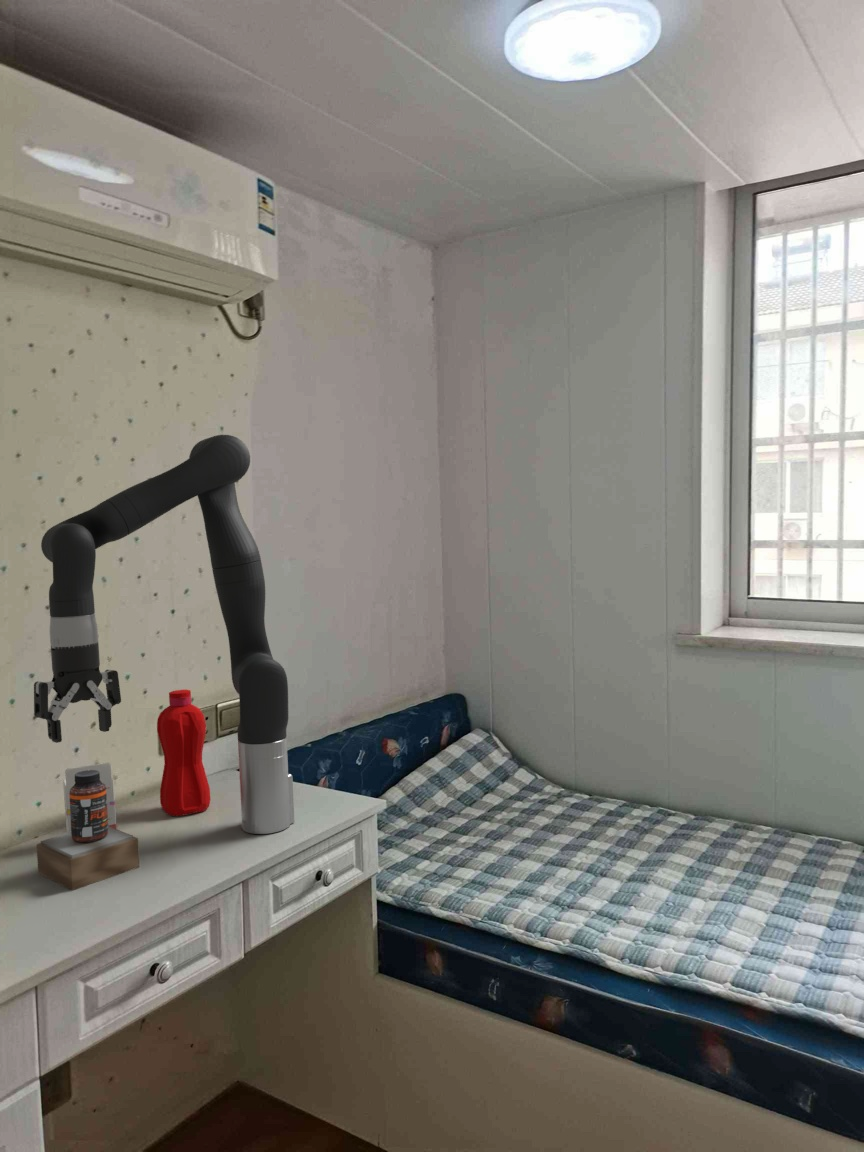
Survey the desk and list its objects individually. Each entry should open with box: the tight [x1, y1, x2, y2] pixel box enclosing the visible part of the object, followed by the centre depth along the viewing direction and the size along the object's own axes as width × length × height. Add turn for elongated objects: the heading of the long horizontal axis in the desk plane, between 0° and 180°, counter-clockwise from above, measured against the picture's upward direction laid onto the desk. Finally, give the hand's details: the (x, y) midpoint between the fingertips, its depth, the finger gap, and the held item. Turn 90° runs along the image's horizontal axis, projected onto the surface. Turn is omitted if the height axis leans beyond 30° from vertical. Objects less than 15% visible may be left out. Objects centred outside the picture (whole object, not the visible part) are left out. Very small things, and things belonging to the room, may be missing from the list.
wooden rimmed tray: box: [36, 826, 140, 891], centre depth 151 cm, size 12×12×6 cm
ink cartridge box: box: [62, 762, 118, 834], centre depth 166 cm, size 9×5×15 cm, turn 117°
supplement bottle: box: [69, 770, 108, 842], centre depth 151 cm, size 6×6×11 cm
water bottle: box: [156, 689, 211, 817], centre depth 182 cm, size 9×11×25 cm
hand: (80, 736), depth 150 cm, fingers open, 8 cm apart
